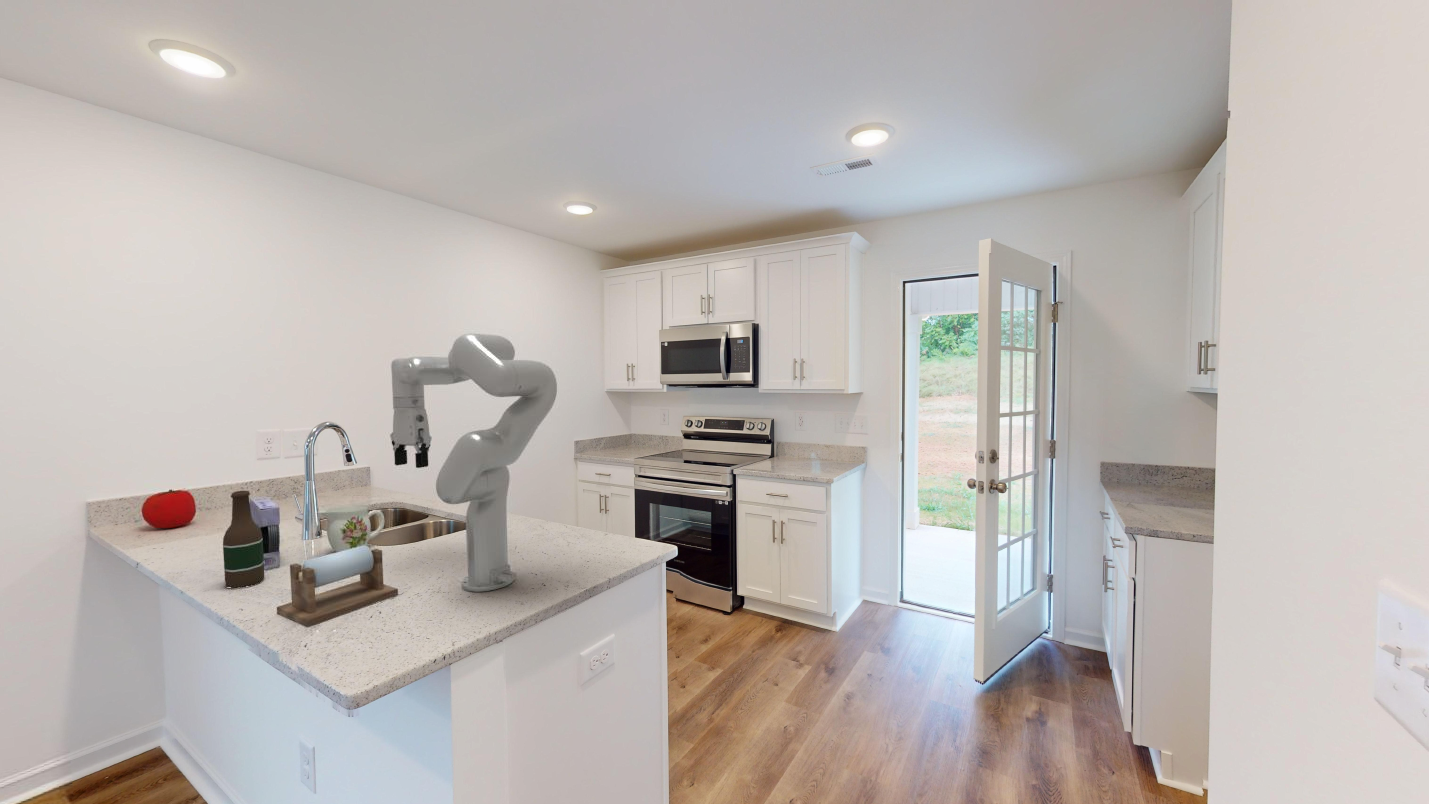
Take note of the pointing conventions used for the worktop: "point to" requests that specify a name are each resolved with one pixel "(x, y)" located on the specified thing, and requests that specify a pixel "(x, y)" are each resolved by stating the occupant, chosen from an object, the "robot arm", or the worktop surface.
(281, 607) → the roll holder
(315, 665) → the worktop surface
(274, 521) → the cake pan box
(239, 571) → the beer bottle
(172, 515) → the tomato
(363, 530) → the pitcher
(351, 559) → the kitchen roll
